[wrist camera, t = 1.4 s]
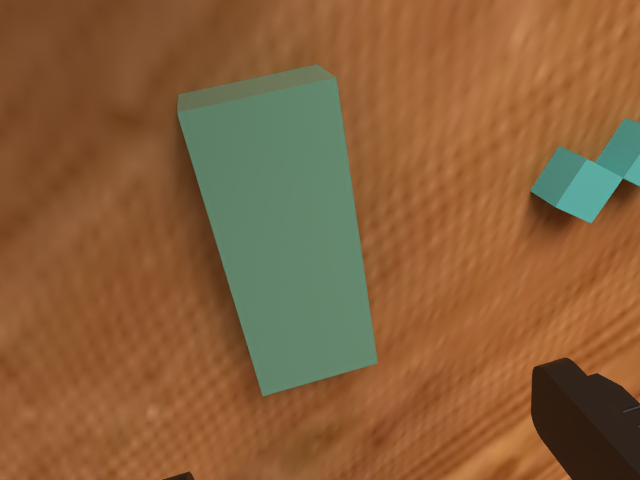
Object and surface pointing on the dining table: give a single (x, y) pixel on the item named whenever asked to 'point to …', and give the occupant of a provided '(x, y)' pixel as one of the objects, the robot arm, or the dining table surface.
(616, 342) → the dining table surface
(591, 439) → the robot arm
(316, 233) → the green block
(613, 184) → the alien figure
